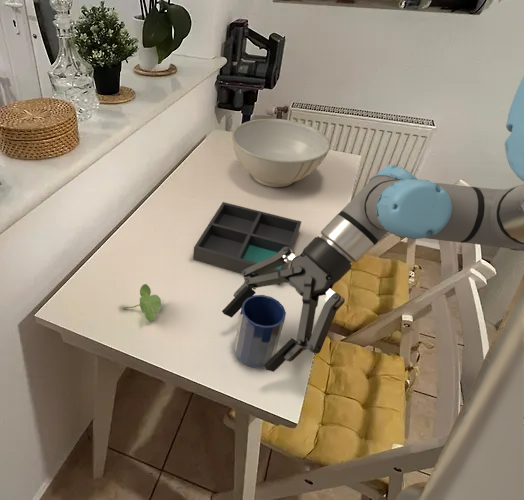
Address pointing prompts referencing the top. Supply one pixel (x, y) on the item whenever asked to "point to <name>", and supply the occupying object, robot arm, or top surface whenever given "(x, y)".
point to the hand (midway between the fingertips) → (246, 340)
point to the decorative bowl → (279, 150)
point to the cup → (259, 330)
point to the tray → (244, 238)
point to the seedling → (148, 303)
